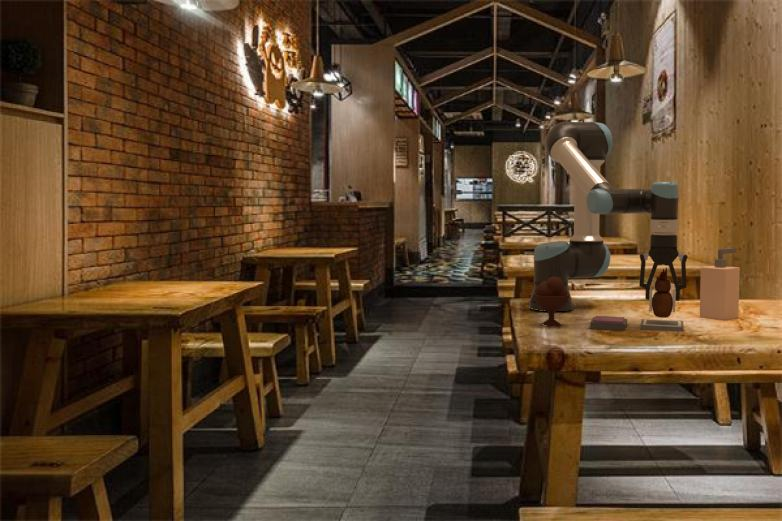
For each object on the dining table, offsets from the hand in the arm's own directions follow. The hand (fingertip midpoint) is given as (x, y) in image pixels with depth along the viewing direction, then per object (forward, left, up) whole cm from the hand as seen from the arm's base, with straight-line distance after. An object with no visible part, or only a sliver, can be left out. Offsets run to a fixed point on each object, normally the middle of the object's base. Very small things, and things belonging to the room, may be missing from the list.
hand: (662, 310), depth 229 cm
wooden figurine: (0, 0, -2) cm, 2 cm away
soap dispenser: (+18, +26, -5) cm, 32 cm away
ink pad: (-15, -5, -5) cm, 17 cm away
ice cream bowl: (-32, -6, -5) cm, 33 cm away
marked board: (0, 0, -5) cm, 5 cm away
